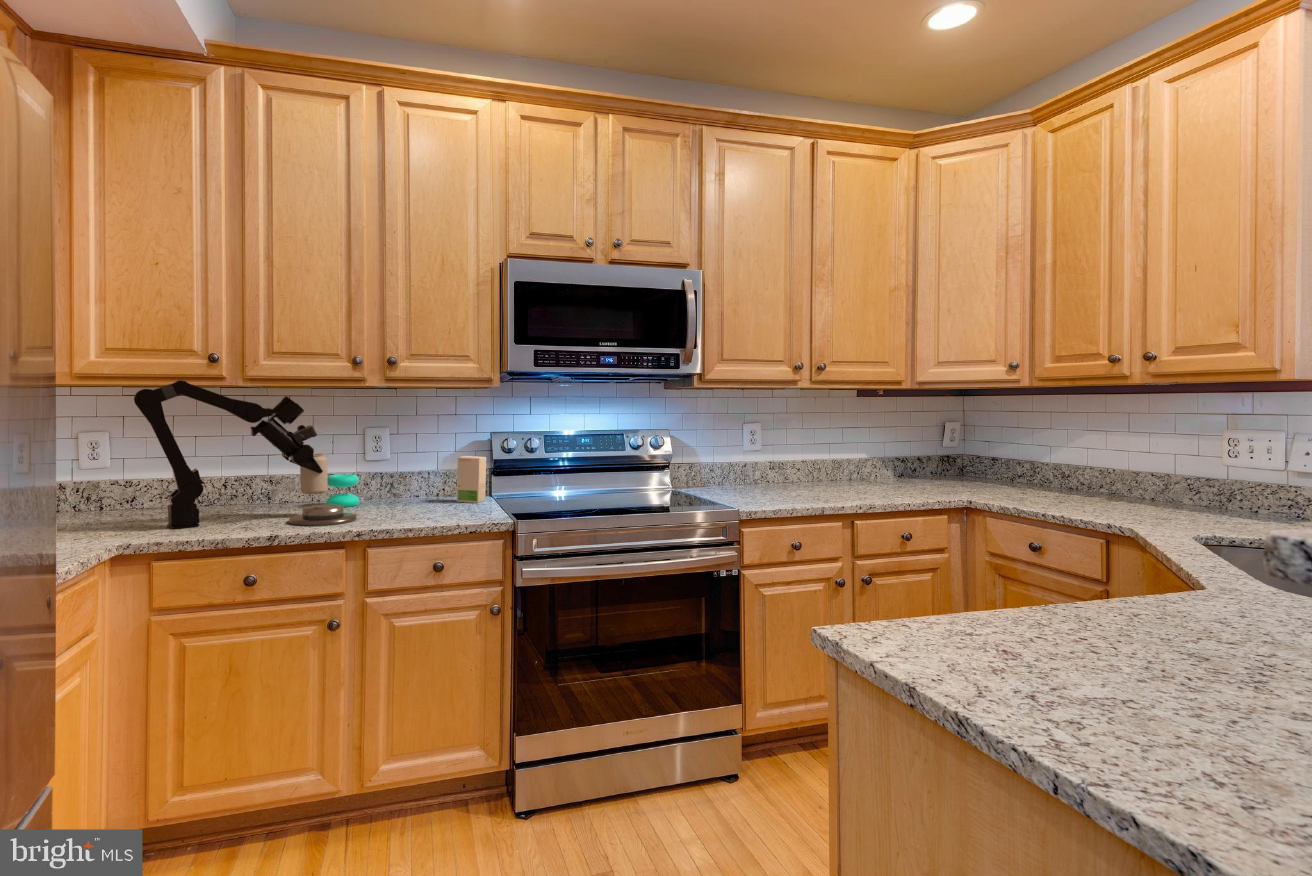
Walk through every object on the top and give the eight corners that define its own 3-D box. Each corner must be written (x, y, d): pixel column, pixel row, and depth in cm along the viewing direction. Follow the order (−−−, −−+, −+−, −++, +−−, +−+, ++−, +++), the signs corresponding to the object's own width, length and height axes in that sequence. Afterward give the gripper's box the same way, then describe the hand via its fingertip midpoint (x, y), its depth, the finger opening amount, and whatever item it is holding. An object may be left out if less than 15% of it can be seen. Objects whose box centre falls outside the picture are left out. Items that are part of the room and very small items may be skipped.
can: (313, 495, 222) (312, 455, 221) (294, 493, 225) (294, 454, 224) (333, 492, 229) (332, 453, 228) (315, 490, 232) (314, 452, 231)
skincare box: (456, 502, 255) (455, 457, 254) (464, 499, 261) (463, 455, 260) (479, 503, 254) (479, 457, 253) (486, 500, 260) (486, 456, 259)
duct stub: (304, 528, 205) (304, 514, 205) (278, 520, 217) (278, 507, 217) (367, 520, 218) (367, 507, 218) (339, 513, 230) (339, 500, 230)
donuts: (365, 474, 250) (346, 477, 240) (365, 504, 250) (346, 508, 240) (338, 473, 252) (319, 476, 242) (339, 502, 252) (319, 507, 243)
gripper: (305, 417, 215) (346, 454, 223) (292, 415, 230) (331, 449, 238) (275, 445, 211) (318, 481, 218) (264, 441, 226) (304, 475, 233)
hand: (318, 471), depth 227 cm, fingers closed on can, 7 cm apart
